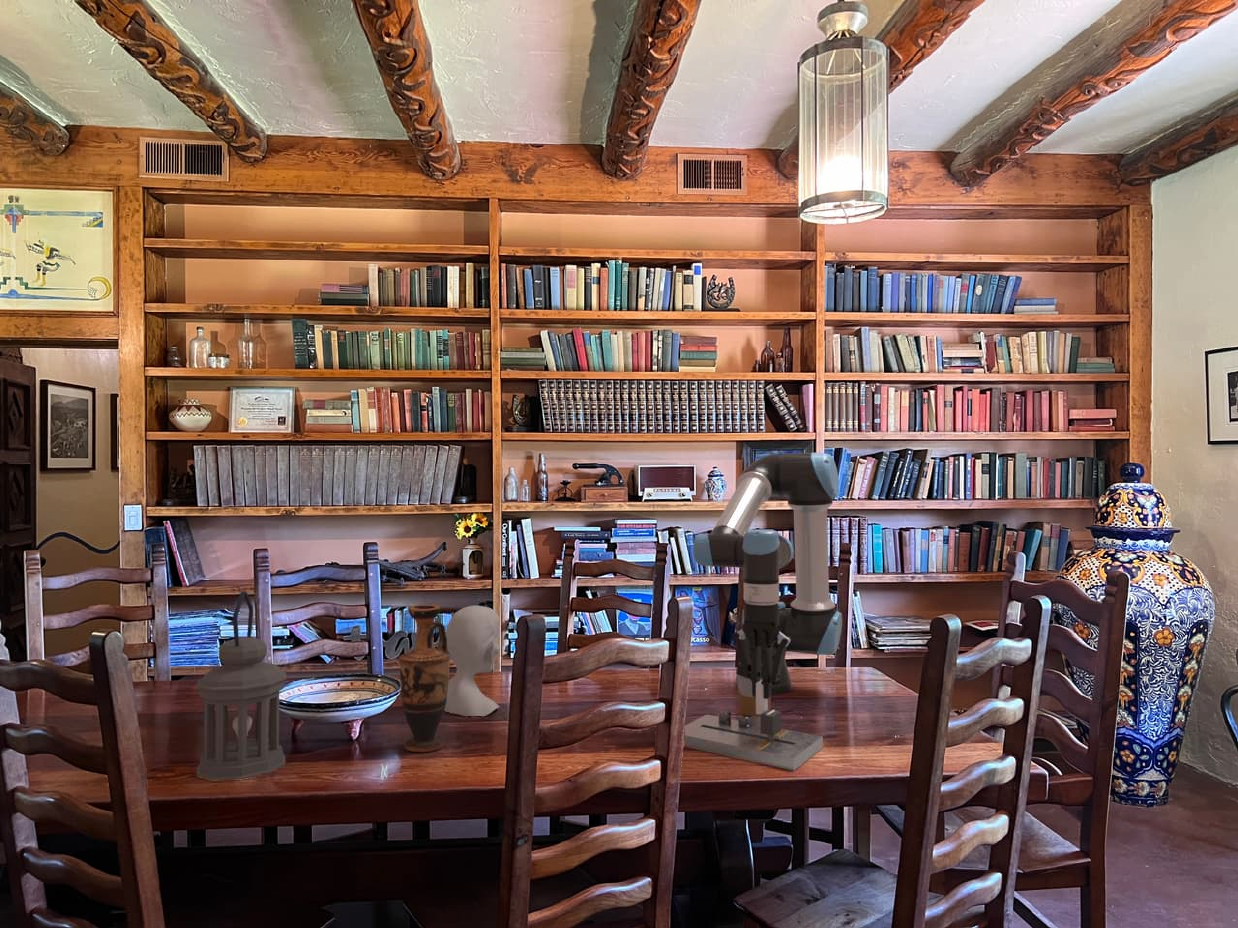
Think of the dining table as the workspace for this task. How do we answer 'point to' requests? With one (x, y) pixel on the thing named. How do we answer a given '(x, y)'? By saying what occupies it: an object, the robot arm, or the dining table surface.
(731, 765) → the dining table surface
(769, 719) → the fader
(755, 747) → the console
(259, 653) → the lantern
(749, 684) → the coffee cup
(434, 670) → the vase
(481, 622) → the head bust
